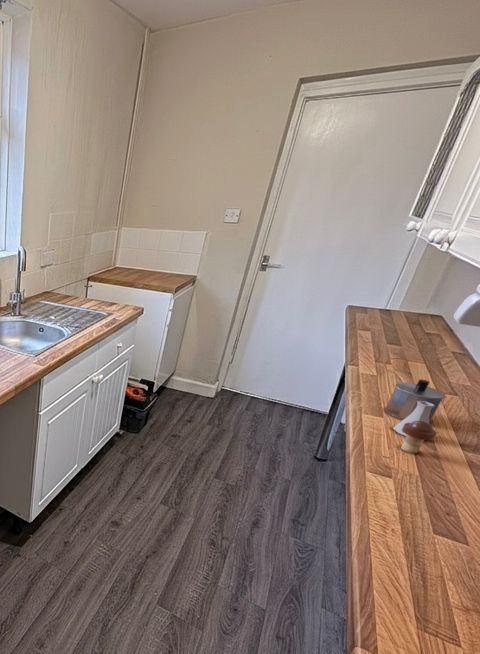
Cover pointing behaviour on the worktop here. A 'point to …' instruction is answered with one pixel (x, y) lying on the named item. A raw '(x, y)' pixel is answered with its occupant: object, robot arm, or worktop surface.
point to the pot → (407, 404)
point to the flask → (416, 415)
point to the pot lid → (420, 390)
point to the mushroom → (416, 435)
